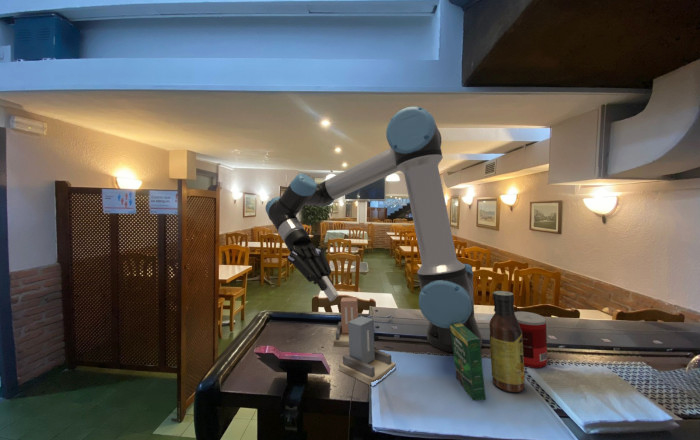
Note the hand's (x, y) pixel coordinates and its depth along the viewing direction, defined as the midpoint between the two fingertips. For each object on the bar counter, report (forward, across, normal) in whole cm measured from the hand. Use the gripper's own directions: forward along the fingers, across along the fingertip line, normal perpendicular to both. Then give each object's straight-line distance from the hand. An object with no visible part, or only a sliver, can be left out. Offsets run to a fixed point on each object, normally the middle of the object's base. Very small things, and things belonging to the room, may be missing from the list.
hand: (334, 297), depth 74 cm
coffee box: (+35, -8, +11) cm, 37 cm away
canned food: (+40, -29, +16) cm, 52 cm away
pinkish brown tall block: (+6, -12, -14) cm, 19 cm away
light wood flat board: (+13, -6, -9) cm, 17 cm away
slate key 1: (+17, 0, -4) cm, 17 cm away
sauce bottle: (+39, -14, +15) cm, 44 cm away
